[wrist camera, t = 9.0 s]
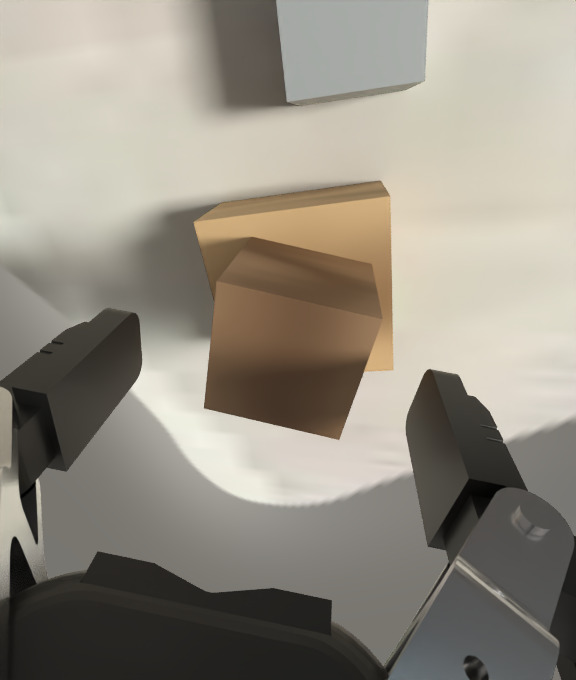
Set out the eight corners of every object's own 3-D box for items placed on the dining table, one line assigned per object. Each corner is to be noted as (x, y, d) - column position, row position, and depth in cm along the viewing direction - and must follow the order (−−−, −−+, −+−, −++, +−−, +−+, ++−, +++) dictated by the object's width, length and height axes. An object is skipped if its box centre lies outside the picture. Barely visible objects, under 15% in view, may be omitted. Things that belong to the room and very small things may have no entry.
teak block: (223, 201, 17) (193, 221, 14) (380, 179, 16) (390, 196, 13) (252, 335, 21) (234, 378, 17) (384, 325, 19) (393, 370, 16)
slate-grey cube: (287, -30, 13) (267, -84, 10) (408, -56, 12) (434, -124, 9) (299, 105, 15) (286, 102, 12) (405, 90, 14) (424, 80, 11)
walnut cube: (237, 339, 16) (203, 408, 12) (251, 236, 14) (216, 281, 10) (340, 363, 16) (338, 439, 12) (371, 264, 14) (383, 319, 10)
